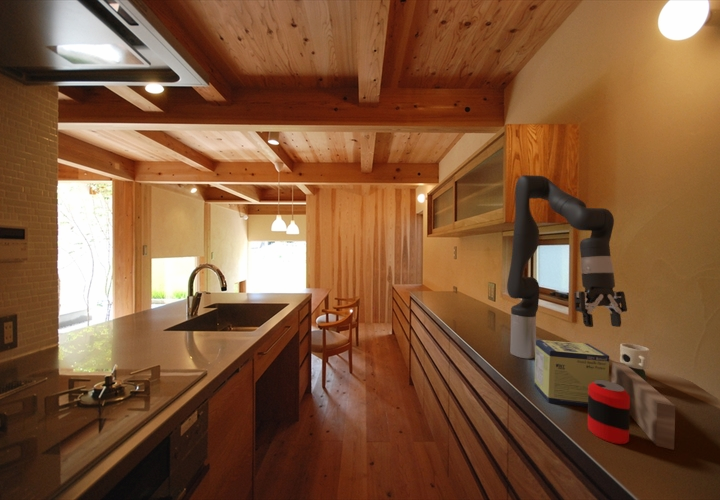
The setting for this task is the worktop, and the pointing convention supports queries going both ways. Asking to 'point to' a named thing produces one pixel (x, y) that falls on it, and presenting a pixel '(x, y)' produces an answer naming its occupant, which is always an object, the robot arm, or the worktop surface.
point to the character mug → (635, 358)
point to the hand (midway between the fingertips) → (602, 326)
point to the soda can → (608, 411)
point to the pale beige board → (647, 406)
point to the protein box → (568, 371)
